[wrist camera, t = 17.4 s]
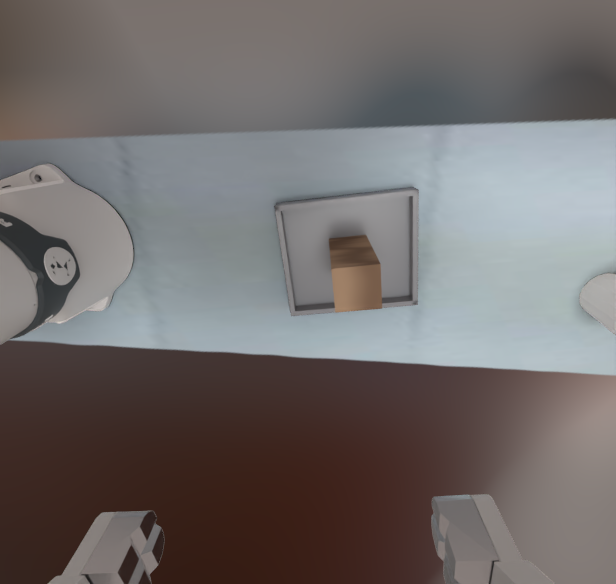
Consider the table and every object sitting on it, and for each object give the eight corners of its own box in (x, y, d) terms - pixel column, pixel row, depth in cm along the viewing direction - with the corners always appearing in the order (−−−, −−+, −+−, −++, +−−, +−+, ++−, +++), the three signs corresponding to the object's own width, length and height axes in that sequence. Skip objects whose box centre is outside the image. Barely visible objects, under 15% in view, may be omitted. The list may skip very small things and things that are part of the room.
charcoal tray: (292, 307, 46) (291, 316, 44) (276, 202, 41) (274, 206, 39) (412, 297, 45) (417, 304, 43) (413, 187, 40) (418, 189, 38)
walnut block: (331, 273, 43) (335, 312, 33) (328, 238, 42) (331, 268, 32) (367, 269, 43) (382, 308, 33) (366, 234, 41) (380, 263, 31)
